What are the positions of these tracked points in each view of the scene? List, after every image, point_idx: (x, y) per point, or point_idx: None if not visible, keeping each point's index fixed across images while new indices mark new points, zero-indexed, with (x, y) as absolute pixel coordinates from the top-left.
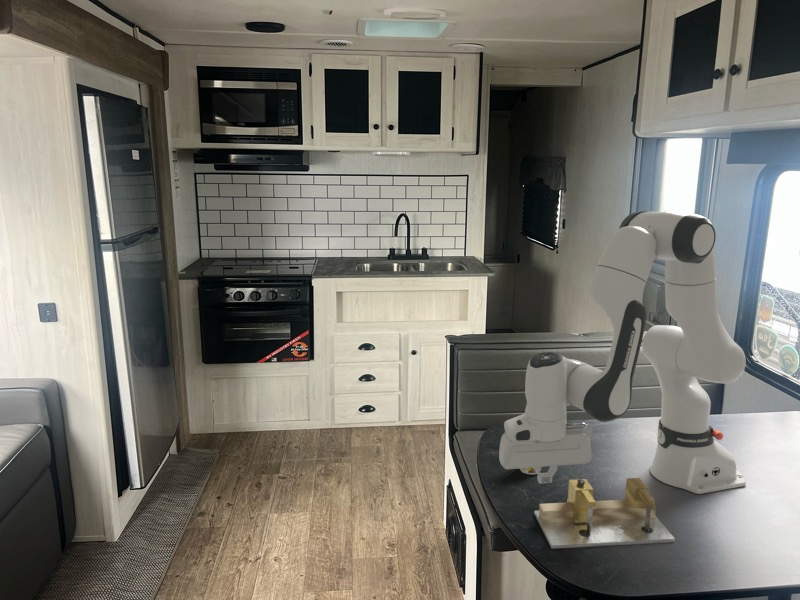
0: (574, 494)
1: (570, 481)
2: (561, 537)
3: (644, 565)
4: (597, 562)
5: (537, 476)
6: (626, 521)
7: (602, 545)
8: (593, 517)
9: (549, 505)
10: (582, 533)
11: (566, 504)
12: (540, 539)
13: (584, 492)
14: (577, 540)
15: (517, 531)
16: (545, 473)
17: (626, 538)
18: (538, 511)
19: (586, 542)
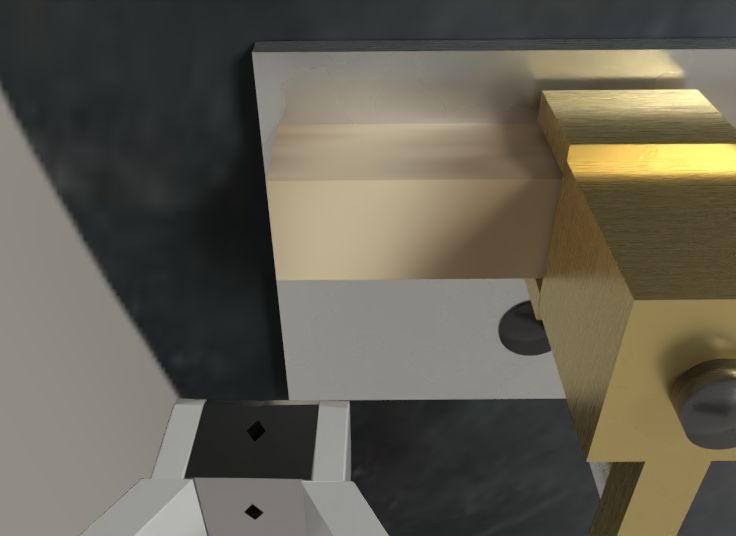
0: (575, 391)
1: (631, 331)
2: (369, 351)
3: None
4: (489, 466)
5: (164, 440)
6: None
7: None
8: None
9: (354, 210)
10: (517, 332)
11: (516, 209)
12: (244, 316)
13: (652, 484)
14: (455, 376)
15: (98, 240)
16: (271, 491)
17: None
18: (285, 69)
19: (499, 394)
